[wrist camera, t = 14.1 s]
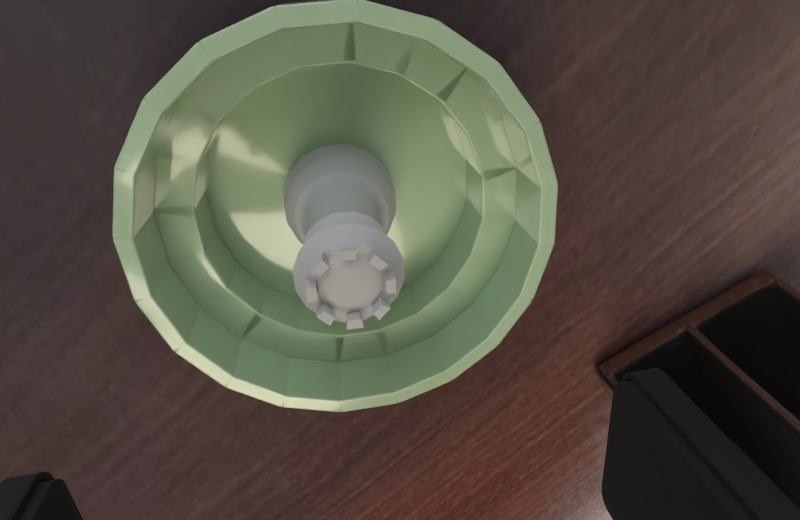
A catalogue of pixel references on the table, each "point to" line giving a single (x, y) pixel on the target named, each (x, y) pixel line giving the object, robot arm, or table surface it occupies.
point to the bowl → (265, 213)
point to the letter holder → (735, 370)
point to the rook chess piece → (344, 234)
